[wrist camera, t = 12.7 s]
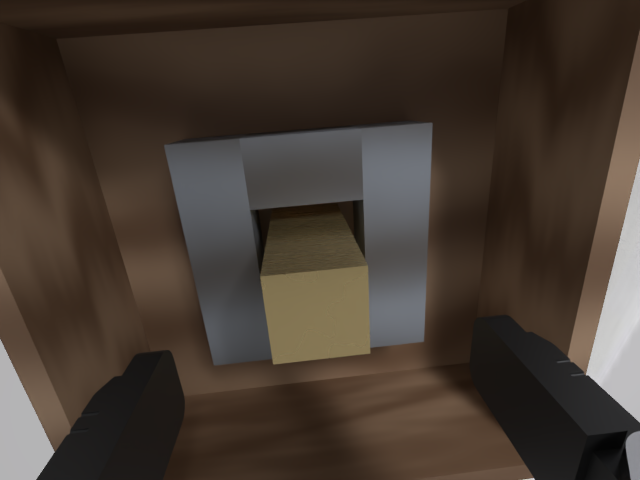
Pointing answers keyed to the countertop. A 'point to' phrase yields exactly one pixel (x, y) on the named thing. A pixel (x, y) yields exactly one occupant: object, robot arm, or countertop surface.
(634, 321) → the countertop surface
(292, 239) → the tan wooden block
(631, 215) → the countertop surface
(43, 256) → the walled box
